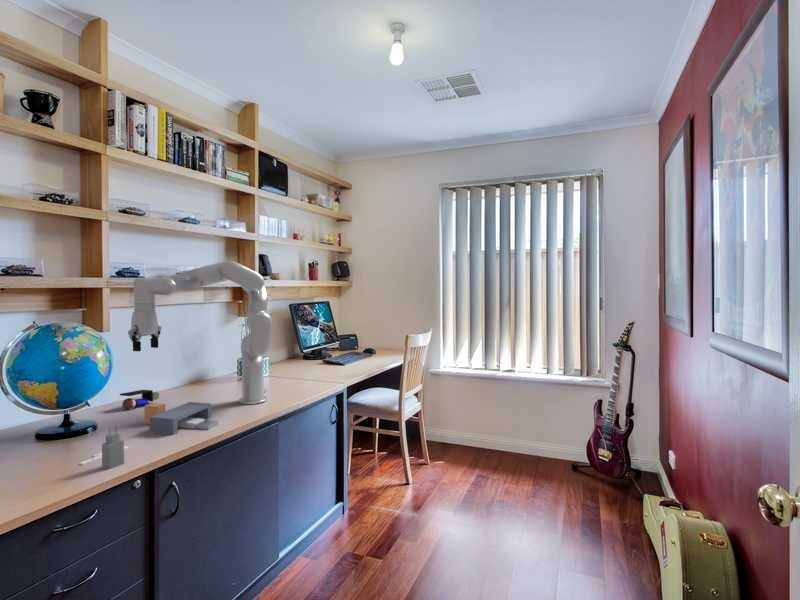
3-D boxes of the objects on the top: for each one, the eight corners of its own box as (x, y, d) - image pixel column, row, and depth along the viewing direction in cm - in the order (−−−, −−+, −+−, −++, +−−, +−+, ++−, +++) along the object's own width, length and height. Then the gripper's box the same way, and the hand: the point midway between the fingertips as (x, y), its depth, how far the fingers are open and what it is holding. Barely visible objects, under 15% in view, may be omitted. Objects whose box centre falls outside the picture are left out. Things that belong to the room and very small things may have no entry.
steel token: (204, 424, 175) (204, 419, 175) (218, 426, 174) (218, 420, 174) (194, 429, 169) (194, 424, 169) (208, 430, 168) (208, 425, 168)
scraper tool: (154, 419, 180) (153, 402, 180) (204, 423, 175) (204, 406, 175) (142, 424, 174) (142, 406, 174) (194, 428, 169) (194, 410, 169)
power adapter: (125, 463, 136) (125, 424, 136) (107, 469, 131) (107, 429, 131) (118, 461, 137) (118, 422, 137) (100, 467, 132) (100, 427, 132)
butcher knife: (72, 463, 136) (72, 460, 136) (118, 447, 150) (118, 444, 150) (83, 466, 134) (82, 462, 134) (129, 449, 148) (129, 446, 148)
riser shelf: (190, 415, 186) (189, 401, 185) (211, 417, 184) (211, 403, 183) (149, 432, 164) (149, 417, 164) (173, 434, 162) (173, 419, 162)
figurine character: (147, 404, 207) (117, 409, 193) (149, 388, 208) (119, 391, 193) (159, 406, 205) (129, 411, 190) (160, 389, 205) (130, 393, 191)
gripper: (152, 306, 192) (153, 346, 193) (120, 309, 175) (121, 352, 176) (167, 306, 191) (168, 346, 192) (136, 309, 174) (137, 352, 175)
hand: (146, 349), depth 184 cm, fingers open, 9 cm apart
